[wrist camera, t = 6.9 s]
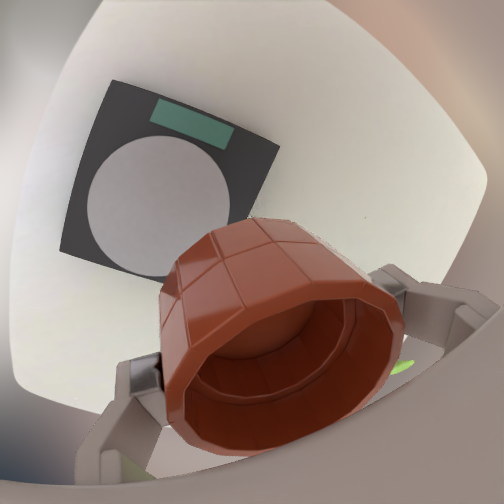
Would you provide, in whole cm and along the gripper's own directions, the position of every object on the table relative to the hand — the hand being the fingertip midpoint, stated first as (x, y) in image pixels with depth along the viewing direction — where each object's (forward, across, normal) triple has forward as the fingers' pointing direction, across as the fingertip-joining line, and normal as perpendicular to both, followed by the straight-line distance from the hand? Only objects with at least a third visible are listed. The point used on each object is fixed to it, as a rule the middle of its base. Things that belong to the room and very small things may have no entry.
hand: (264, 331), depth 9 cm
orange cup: (+2, 0, 0) cm, 2 cm away
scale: (+17, +3, -2) cm, 17 cm away
